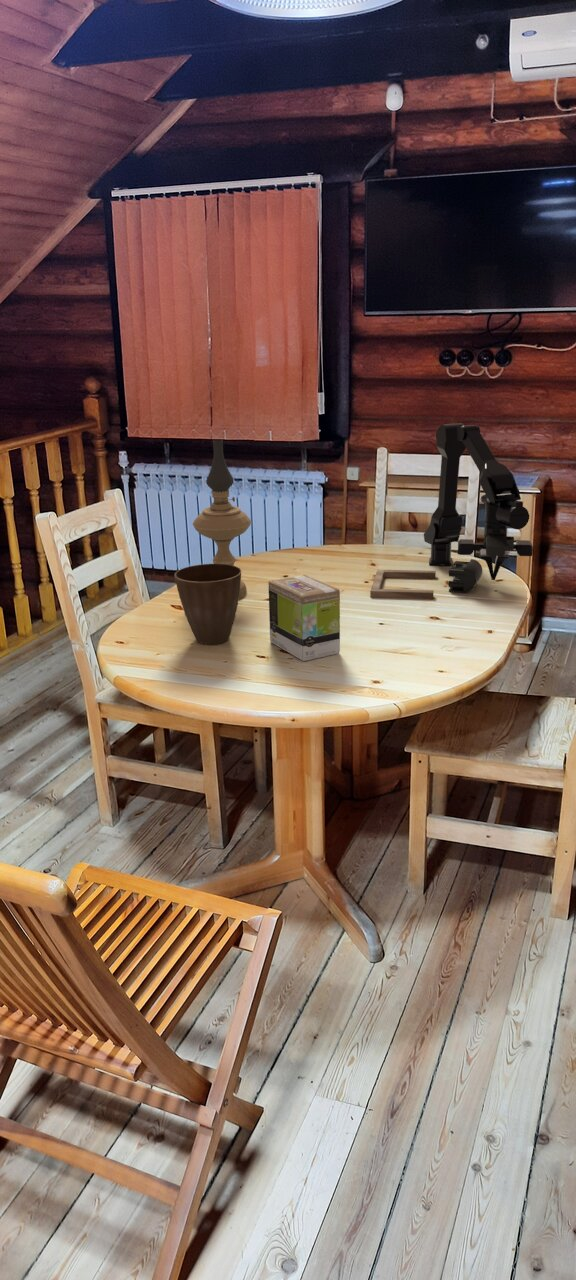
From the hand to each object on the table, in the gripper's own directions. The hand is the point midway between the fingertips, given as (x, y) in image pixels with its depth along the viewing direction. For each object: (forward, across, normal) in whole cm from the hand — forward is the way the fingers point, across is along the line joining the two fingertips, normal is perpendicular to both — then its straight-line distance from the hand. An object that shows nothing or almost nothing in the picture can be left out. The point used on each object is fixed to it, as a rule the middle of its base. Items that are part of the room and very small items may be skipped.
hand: (493, 579), depth 245 cm
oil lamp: (+3, -69, -11) cm, 70 cm away
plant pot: (+3, -64, -45) cm, 78 cm away
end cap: (+3, -7, 0) cm, 8 cm away
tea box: (+3, -42, -48) cm, 64 cm away
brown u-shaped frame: (+2, -22, 0) cm, 22 cm away
